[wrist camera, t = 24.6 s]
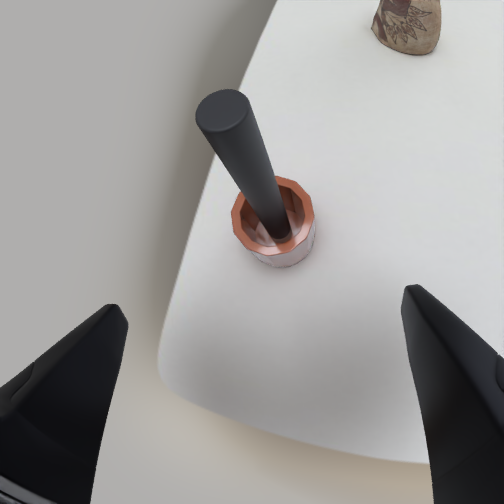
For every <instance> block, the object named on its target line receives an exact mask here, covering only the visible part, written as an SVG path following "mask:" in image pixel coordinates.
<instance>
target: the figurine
mask: <svg viewBox="0 0 504 504" xmlns="http://www.w3.org/2000/svg"><path fill="white" fill-rule="evenodd" d="M372 30H373V31H374V33H375V35H376V36H377V37H378V39H379V40H380V41H381V43H383V44H385V45H386V46H388V47H390V48H392V49H394V50H397V51H399V52H403V53H407V54H419V55H422V54H427V53H429V52H431V51H432V50H433V49H434V48H435V46H436V44H437V42H438V40H439V36H440V30H441V5H440V0H381V1H380V3H379V7H378V9H377V11H376V14H375V16H374V19H373V24H372Z"/></svg>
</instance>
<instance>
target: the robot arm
mask: <svg viewBox="0 0 504 504" xmlns="http://www.w3.org/2000/svg"><path fill="white" fill-rule="evenodd" d="M401 315H402V321H403V326H404V332H405V338H406V344H407V351H408V357H409V362H410V366H411V370H412V374H413V378H414V383H415V387H416V391H417V396H418V400H419V405H420V410H421V414H422V420H423V425H424V430H425V436H426V442H427V448H428V455H429V462H430V469H431V476H432V488H433V499H434V504H504V359H503V358H502V357H501V356H500V355H498V353H497V352H496V351H495V350H494V349H493V348H492V347H491V346H490V345H489V344H487V343H486V342H485V341H484V340H483V339H482V338H481V337H480V336H479V335H478V334H477V333H475V332H474V331H473V330H472V329H471V328H470V327H469V326H468V325H467V324H465V323H464V322H463V321H462V320H461V319H460V318H459V317H457V316H456V315H455V314H454V313H453V312H452V311H450V310H449V309H448V308H447V307H446V306H445V305H443V304H442V303H441V302H440V301H439V300H438V299H436V298H435V297H434V296H433V295H431V294H430V293H429V292H428V291H427V290H425V289H424V288H423V287H422V286H420V285H418V284H415V285H408V286H406V287H405V289H404V294H403V300H402V305H401ZM127 332H128V321H127V319H126V318H125V316H124V314H123V313H122V311H121V309H120V307H119V306H118V305H116V304H107V305H105V306H103V307H102V308H101V309H100V310H98V311H97V312H96V313H94V314H93V315H92V316H90V317H89V318H88V319H87V320H85V321H84V322H83V323H81V324H80V325H79V326H78V327H76V328H75V329H74V330H72V331H71V332H70V333H69V334H67V335H66V336H65V337H63V338H62V339H61V340H60V341H58V342H57V343H56V344H55V345H53V346H52V347H51V348H50V349H49V350H47V351H46V352H45V353H44V354H42V355H41V356H40V357H39V358H37V359H36V360H35V362H33V363H31V364H30V365H29V366H28V367H26V369H24V370H23V371H22V372H20V373H19V374H18V375H16V376H15V377H14V378H13V379H11V380H10V381H9V382H7V383H6V384H5V385H3V386H2V387H0V504H90V501H91V495H92V488H93V483H94V477H95V471H96V465H97V460H98V455H99V450H100V446H101V441H102V437H103V432H104V428H105V423H106V419H107V415H108V411H109V407H110V403H111V399H112V396H113V391H114V388H115V384H116V381H117V377H118V374H119V369H120V366H121V362H122V356H123V351H124V346H125V341H126V336H127Z"/></svg>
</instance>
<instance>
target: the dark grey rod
mask: <svg viewBox="0 0 504 504" xmlns="http://www.w3.org/2000/svg"><path fill="white" fill-rule="evenodd" d="M196 123H197V125H198V127H199V128H200V129H201V131H202V132H203V134H204V135H205V137H206V139H207V140H208V141H209V143H210V144H211V146H212V147H213V149H214V151H215V152H216V154H217V155H218V157H219V158H220V160H221V161H222V163H223V164H224V166H225V167H226V169H227V170H228V172H229V173H230V175H231V176H232V178H233V179H234V181H235V183H236V184H237V186H238V187H239V189H240V190H241V192H242V193H243V195H244V196H245V198H246V199H247V201H248V203H249V204H250V206H251V207H252V209H253V210H254V212H255V213H256V215H257V217H258V218H259V220H260V221H261V223H262V224H263V226H264V227H265V229H266V231H267V232H268V234H269V235H270V237H271V238H272V240H273V241H275V242H277V243H285V242H287V241H288V240H289V239H290V238H291V235H292V229H291V226H290V222H289V219H288V216H287V213H286V209H285V206H284V203H283V200H282V197H281V194H280V190H279V187H278V184H277V181H276V178H275V175H274V172H273V169H272V166H271V163H270V160H269V157H268V154H267V151H266V148H265V145H264V142H263V139H262V136H261V133H260V130H259V128H258V125H257V122H256V119H255V116H254V113H253V110H252V108H251V105H250V102H249V100H248V98H247V97H246V96H245V95H244V94H242V93H241V92H239V91H236V90H232V89H225V90H220V91H217V92H214V93H212V94H210V95H208V96H207V97H206V98H204V99H203V100H202V102H201V103H200V104H199V106H198V108H197V110H196Z"/></svg>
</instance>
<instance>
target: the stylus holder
mask: <svg viewBox="0 0 504 504" xmlns="http://www.w3.org/2000/svg"><path fill="white" fill-rule="evenodd" d="M275 178H276V181H277V184H278V187H279V190H280V194H281V197H282V200H283V203H284V206H285V209H286V213H287V216H288V219H289V222H290V226H291V229H292V235H291V238H290V239H289V240H288V241H287V242H285V243H277V242H275V241H273V240H272V238H271V237H270V235H269V234H268V232H267V231H266V229H265V227H264V226H263V224H262V223H261V221H260V220H259V218H258V217H257V215H256V213H255V212H254V210H253V209H252V207H251V206H250V204H249V203H248V201H247V199H246V198H245V196H244V195H243V193H242V192H240V193H239V194H238V196H237V199H236V201H235V204H234V206H233V208H232V211H231V217H232V225H233V232H234V234H235V235H236V236H237V238H238V239H239V240H240V241H241V243H242V244H243V245H244V246H245V247H246V249H248V250H249V251H250V252H251V253H252V254H253V255H255V256H256V257H257V258H258V259H259V260H260V261H262V262H265V263H266V264H268V265H271V266H274V267H288V266H292V265H294V264H296V263H298V262H300V261H301V260H303V259H304V258H305V257H306V255H307V254H308V253H309V251H310V249H311V247H312V244H313V240H314V237H315V223H314V212H313V207H312V202H311V198H310V196H309V195H308V194H307V193H306V192H305V190H304V189H303V188H302V187H301V186H300V185H299V184H298V183H297V182H295V181H293V180H289V179H286V178H282V177H279V176H275Z"/></svg>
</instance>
